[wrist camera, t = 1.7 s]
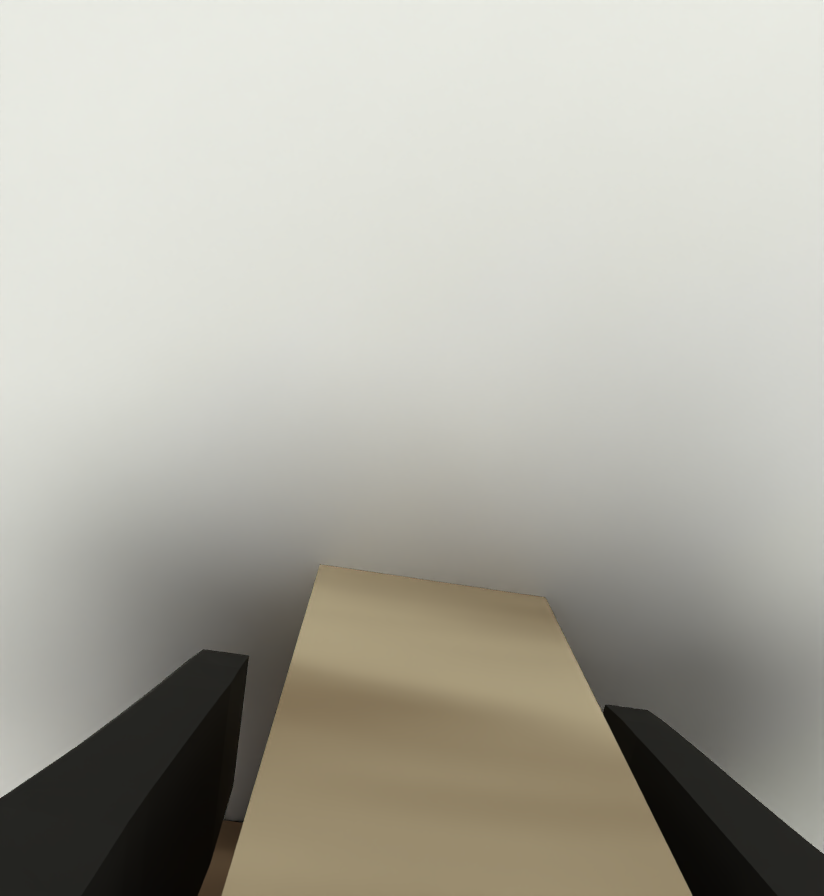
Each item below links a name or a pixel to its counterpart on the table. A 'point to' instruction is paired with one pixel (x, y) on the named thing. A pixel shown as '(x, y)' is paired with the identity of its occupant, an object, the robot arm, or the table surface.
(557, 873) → the tan wooden block
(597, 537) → the table surface
